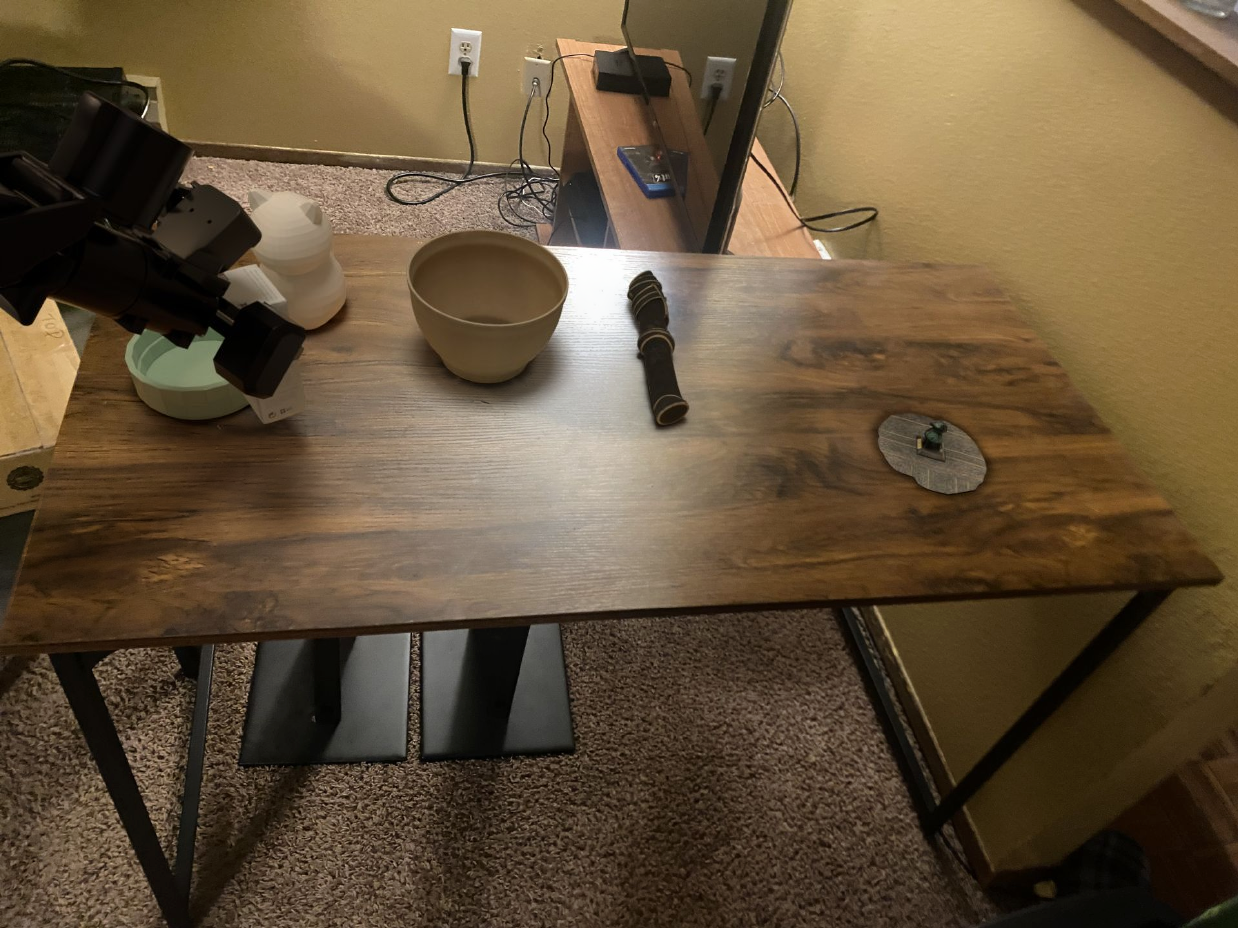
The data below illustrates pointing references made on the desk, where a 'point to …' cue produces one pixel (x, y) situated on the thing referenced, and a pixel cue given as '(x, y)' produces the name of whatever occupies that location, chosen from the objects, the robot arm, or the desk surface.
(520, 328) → the planter bowl
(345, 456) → the desk surface
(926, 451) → the sculpture
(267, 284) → the cosmetic box
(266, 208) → the cat figurine
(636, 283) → the banded dark tube
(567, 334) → the desk surface
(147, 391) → the shallow bowl
